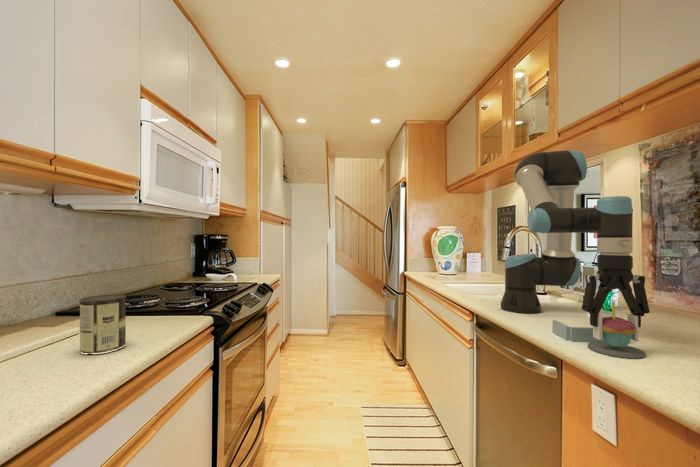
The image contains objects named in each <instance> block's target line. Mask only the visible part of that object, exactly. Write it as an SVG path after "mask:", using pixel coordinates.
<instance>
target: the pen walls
mask: <svg viewBox="0 0 700 467" xmlns="http://www.w3.org/2000/svg"><path fill="white" fill-rule="evenodd" d="M551 323H552V324H551V325H552V333H553V334H554V335H556V336H558V337H560V338H561V339H563V340H565V341H570V342H574V343H576V342H577V343H578V342H579V343H591V342H605V341H604V338H603V335H602V340H598V339H596V338H594V337H593V326H590V327H587V326H568V324H565V323H562V322H560V321H558V320H556V319H554V320H552V322H551ZM631 340H632V339H630V341H629V343H628V344H631V342H632V341H631Z"/></svg>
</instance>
